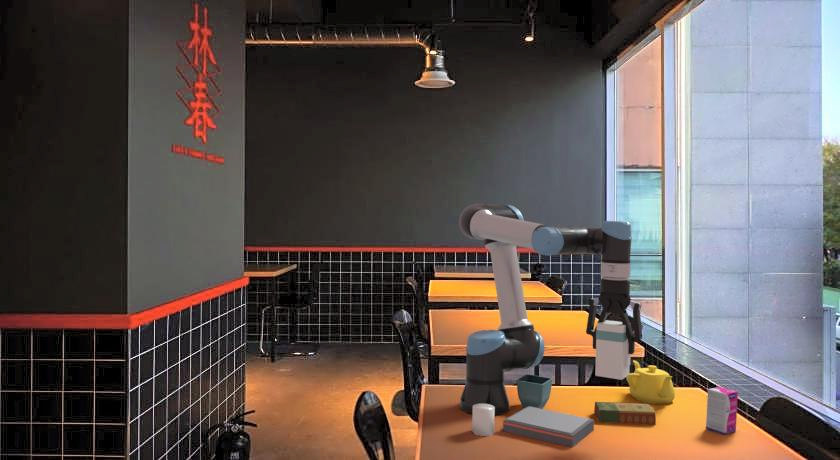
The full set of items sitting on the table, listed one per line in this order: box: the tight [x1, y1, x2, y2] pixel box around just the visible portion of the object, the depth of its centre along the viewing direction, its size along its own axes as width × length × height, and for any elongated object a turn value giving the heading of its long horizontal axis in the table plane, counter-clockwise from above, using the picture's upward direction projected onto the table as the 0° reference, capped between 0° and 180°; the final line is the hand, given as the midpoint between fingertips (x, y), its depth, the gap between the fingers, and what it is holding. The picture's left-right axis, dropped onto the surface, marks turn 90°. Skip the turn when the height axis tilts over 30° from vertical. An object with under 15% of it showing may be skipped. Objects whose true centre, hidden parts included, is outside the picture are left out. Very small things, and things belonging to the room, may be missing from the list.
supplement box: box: [705, 386, 739, 435], centre depth 175 cm, size 6×6×12 cm
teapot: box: [625, 360, 676, 405], centre depth 204 cm, size 22×16×11 cm
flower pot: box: [515, 373, 553, 409], centre depth 193 cm, size 9×9×9 cm
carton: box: [593, 401, 657, 426], centre depth 183 cm, size 8×16×4 cm, turn 83°
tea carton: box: [594, 319, 632, 381], centre depth 167 cm, size 7×7×14 cm
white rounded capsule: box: [471, 404, 496, 437], centre depth 170 cm, size 6×6×7 cm
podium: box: [502, 406, 595, 448], centre depth 172 cm, size 20×16×3 cm
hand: (612, 363), depth 167 cm, fingers closed on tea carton, 7 cm apart
